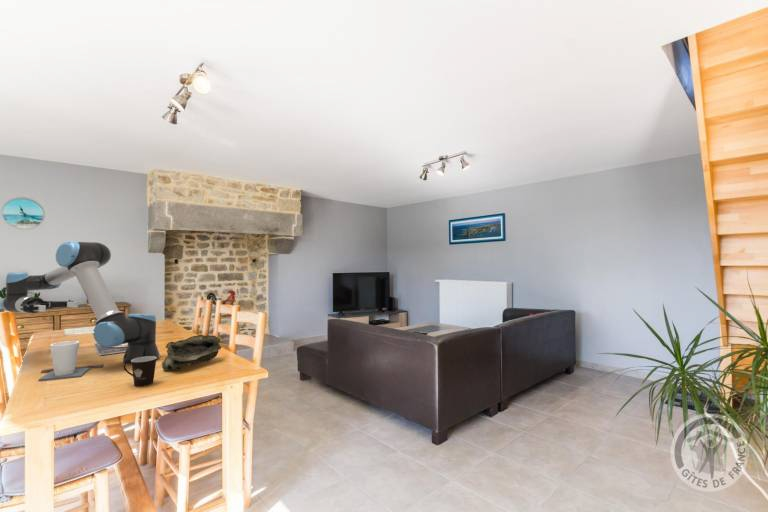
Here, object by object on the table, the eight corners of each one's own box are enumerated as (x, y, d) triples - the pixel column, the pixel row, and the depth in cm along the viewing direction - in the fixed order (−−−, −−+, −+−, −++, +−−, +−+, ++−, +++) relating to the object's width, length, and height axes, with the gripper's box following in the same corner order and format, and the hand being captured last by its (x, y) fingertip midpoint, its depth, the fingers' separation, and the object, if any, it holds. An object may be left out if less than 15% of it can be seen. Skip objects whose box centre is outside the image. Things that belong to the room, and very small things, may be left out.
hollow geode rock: (218, 367, 186) (206, 343, 192) (230, 352, 182) (218, 328, 187) (160, 381, 162) (149, 353, 168) (172, 364, 158) (161, 336, 164)
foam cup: (83, 369, 163) (84, 340, 163) (70, 376, 154) (70, 345, 154) (59, 370, 162) (59, 341, 162) (44, 377, 153) (44, 346, 153)
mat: (90, 369, 167) (90, 367, 167) (81, 376, 156) (81, 375, 156) (51, 372, 161) (51, 371, 161) (38, 381, 150) (38, 379, 150)
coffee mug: (161, 382, 149) (161, 357, 150) (139, 388, 142) (139, 363, 142) (143, 378, 154) (143, 354, 154) (121, 384, 147) (121, 359, 147)
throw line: (103, 366, 171) (103, 364, 171) (102, 367, 169) (102, 365, 169) (42, 372, 162) (42, 369, 162) (41, 373, 161) (41, 370, 161)
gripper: (59, 309, 189) (89, 311, 183) (-4, 316, 165) (29, 318, 159) (59, 294, 189) (89, 296, 183) (-3, 299, 165) (29, 301, 159)
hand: (61, 306), depth 171 cm, fingers open, 13 cm apart
